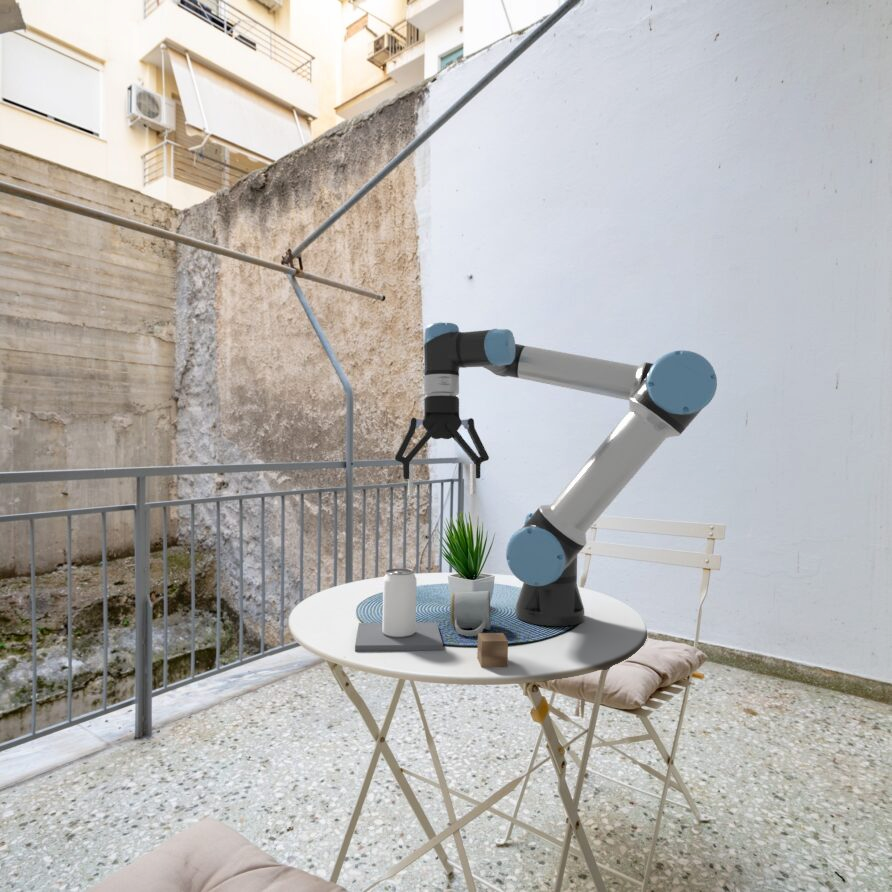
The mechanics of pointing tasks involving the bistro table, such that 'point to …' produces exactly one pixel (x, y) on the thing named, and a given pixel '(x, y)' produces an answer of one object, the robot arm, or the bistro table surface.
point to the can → (399, 603)
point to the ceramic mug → (470, 612)
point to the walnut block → (492, 650)
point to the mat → (376, 640)
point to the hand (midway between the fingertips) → (442, 494)
